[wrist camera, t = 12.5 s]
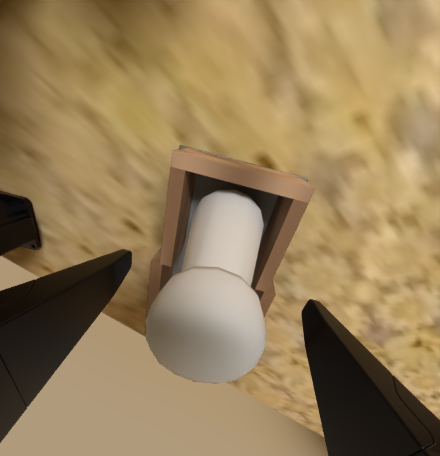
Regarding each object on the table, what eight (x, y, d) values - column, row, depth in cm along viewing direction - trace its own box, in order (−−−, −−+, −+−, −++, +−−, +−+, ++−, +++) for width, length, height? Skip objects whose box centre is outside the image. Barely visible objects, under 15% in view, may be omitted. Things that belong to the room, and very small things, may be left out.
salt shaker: (265, 235, 18) (303, 410, 6) (209, 245, 19) (156, 408, 8) (253, 175, 16) (279, 276, 4) (190, 191, 17) (75, 304, 5)
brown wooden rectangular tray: (161, 301, 24) (144, 333, 20) (181, 145, 16) (160, 147, 12) (242, 323, 24) (242, 360, 20) (306, 178, 16) (327, 191, 12)
